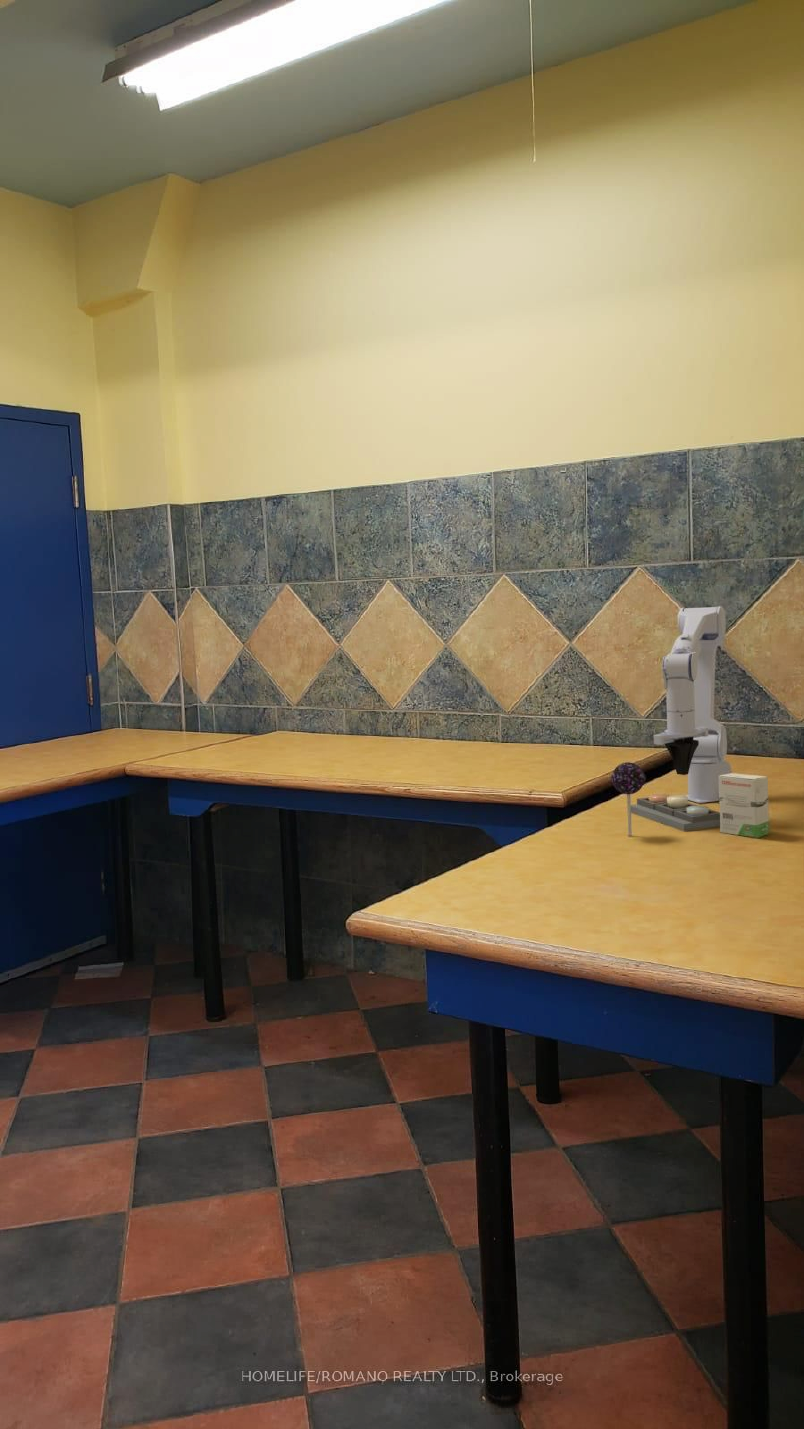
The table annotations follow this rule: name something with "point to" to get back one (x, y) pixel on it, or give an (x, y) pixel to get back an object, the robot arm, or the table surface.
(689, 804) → the panel
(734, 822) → the ink box
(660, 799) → the terracotta button
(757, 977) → the table surface
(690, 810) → the blue-grey button
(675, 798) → the cream button
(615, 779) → the lollipop
